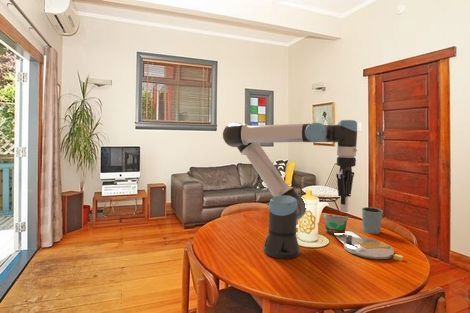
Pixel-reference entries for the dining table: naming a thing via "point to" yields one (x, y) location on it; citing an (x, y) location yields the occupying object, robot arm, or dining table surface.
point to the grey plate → (368, 248)
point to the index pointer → (398, 257)
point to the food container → (335, 224)
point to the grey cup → (371, 220)
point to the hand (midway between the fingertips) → (343, 211)
